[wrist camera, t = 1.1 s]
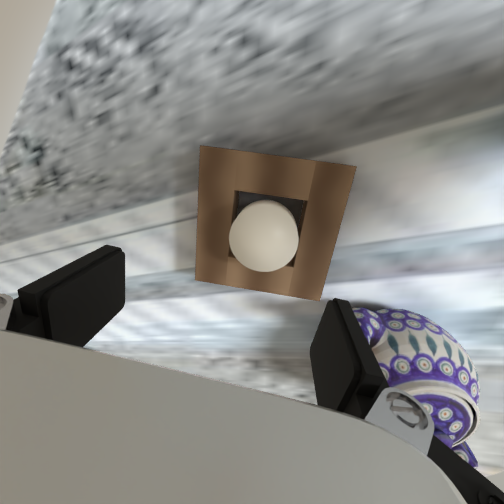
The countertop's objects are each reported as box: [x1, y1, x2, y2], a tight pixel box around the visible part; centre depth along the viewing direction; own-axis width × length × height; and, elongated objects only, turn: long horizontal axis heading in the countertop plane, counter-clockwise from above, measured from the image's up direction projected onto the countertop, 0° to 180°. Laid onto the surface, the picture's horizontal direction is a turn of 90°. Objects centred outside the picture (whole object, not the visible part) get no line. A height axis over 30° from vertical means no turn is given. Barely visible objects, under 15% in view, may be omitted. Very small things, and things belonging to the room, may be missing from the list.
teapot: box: [352, 307, 480, 469], centre depth 29 cm, size 25×15×15 cm, turn 41°
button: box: [229, 200, 299, 272], centre depth 26 cm, size 7×7×4 cm
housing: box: [195, 145, 357, 301], centre depth 29 cm, size 16×16×4 cm
